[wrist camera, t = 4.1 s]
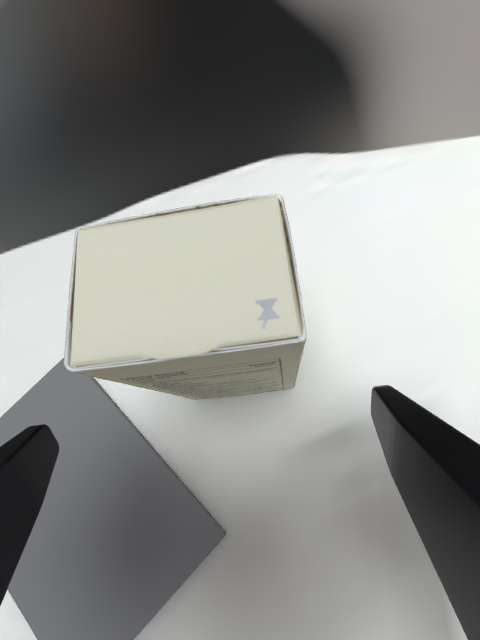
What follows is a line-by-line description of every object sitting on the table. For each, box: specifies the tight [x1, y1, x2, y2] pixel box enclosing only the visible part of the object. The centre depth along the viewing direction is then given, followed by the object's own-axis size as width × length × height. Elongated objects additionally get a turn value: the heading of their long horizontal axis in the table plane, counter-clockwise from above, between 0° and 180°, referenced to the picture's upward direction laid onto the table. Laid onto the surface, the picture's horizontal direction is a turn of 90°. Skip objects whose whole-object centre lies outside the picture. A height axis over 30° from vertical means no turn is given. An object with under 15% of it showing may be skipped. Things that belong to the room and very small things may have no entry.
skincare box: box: [64, 194, 306, 399], centre depth 14 cm, size 6×4×12 cm
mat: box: [0, 358, 226, 640], centre depth 18 cm, size 14×10×1 cm
